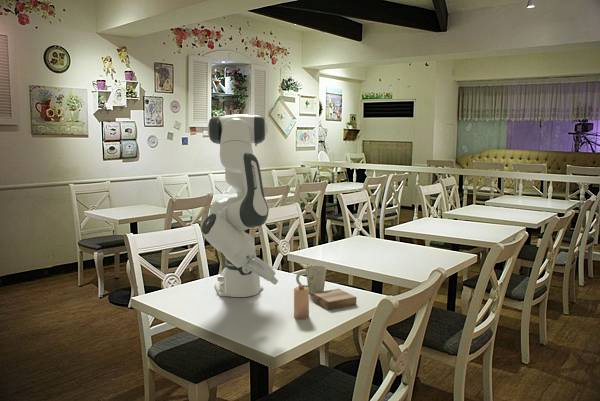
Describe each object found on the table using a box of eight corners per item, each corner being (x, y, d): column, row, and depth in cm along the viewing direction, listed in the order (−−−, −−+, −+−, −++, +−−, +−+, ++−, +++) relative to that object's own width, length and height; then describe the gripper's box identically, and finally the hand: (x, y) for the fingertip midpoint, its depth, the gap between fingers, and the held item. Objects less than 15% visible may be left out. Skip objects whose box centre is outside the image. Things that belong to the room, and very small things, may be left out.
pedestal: (312, 300, 193) (312, 293, 192) (338, 295, 198) (338, 288, 198) (329, 310, 182) (329, 302, 182) (356, 304, 188) (356, 297, 187)
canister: (291, 315, 177) (291, 284, 175) (304, 313, 179) (304, 282, 178) (298, 320, 172) (298, 288, 171) (311, 317, 175) (311, 286, 173)
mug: (324, 295, 198) (324, 271, 197) (293, 294, 201) (293, 269, 200) (327, 289, 206) (327, 266, 205) (297, 288, 209) (297, 264, 208)
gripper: (261, 252, 154) (289, 279, 160) (236, 240, 172) (263, 265, 177) (248, 268, 152) (277, 294, 158) (224, 254, 170) (251, 279, 176)
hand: (269, 279), depth 168 cm, fingers open, 8 cm apart
